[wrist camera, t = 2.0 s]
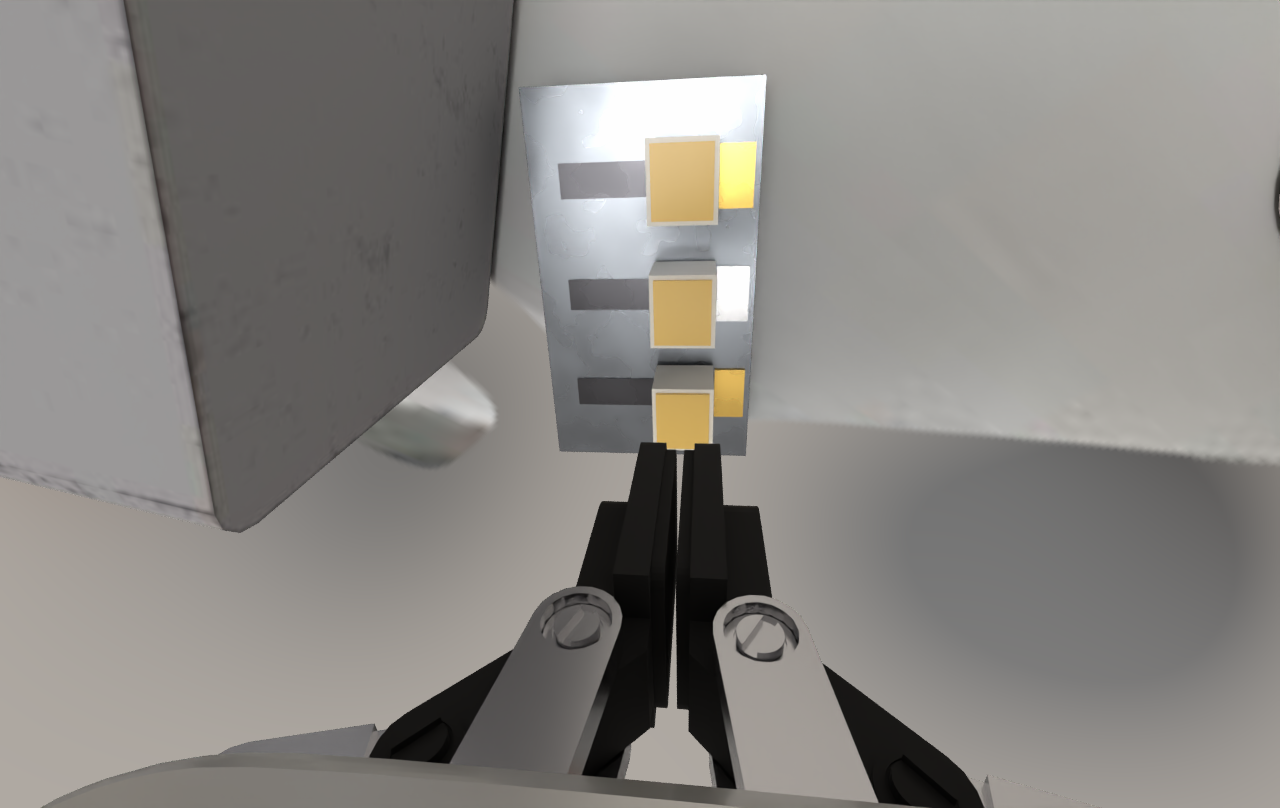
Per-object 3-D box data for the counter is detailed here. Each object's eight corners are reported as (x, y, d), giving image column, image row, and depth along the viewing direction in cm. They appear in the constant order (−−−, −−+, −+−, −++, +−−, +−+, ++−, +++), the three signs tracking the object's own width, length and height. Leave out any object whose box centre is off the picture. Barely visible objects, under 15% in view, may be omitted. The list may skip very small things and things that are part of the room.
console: (756, 85, 28) (766, 73, 23) (740, 416, 36) (745, 457, 31) (547, 96, 29) (517, 87, 25) (577, 414, 37) (559, 453, 33)
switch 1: (718, 136, 24) (720, 134, 21) (716, 215, 26) (717, 225, 23) (651, 138, 25) (644, 137, 22) (653, 217, 26) (646, 226, 23)
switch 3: (712, 365, 29) (714, 391, 26) (711, 422, 31) (712, 452, 28) (656, 365, 29) (651, 390, 26) (658, 421, 31) (653, 451, 28)
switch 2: (715, 260, 27) (716, 275, 24) (713, 327, 28) (715, 349, 25) (654, 261, 27) (648, 276, 24) (656, 327, 29) (650, 349, 26)
